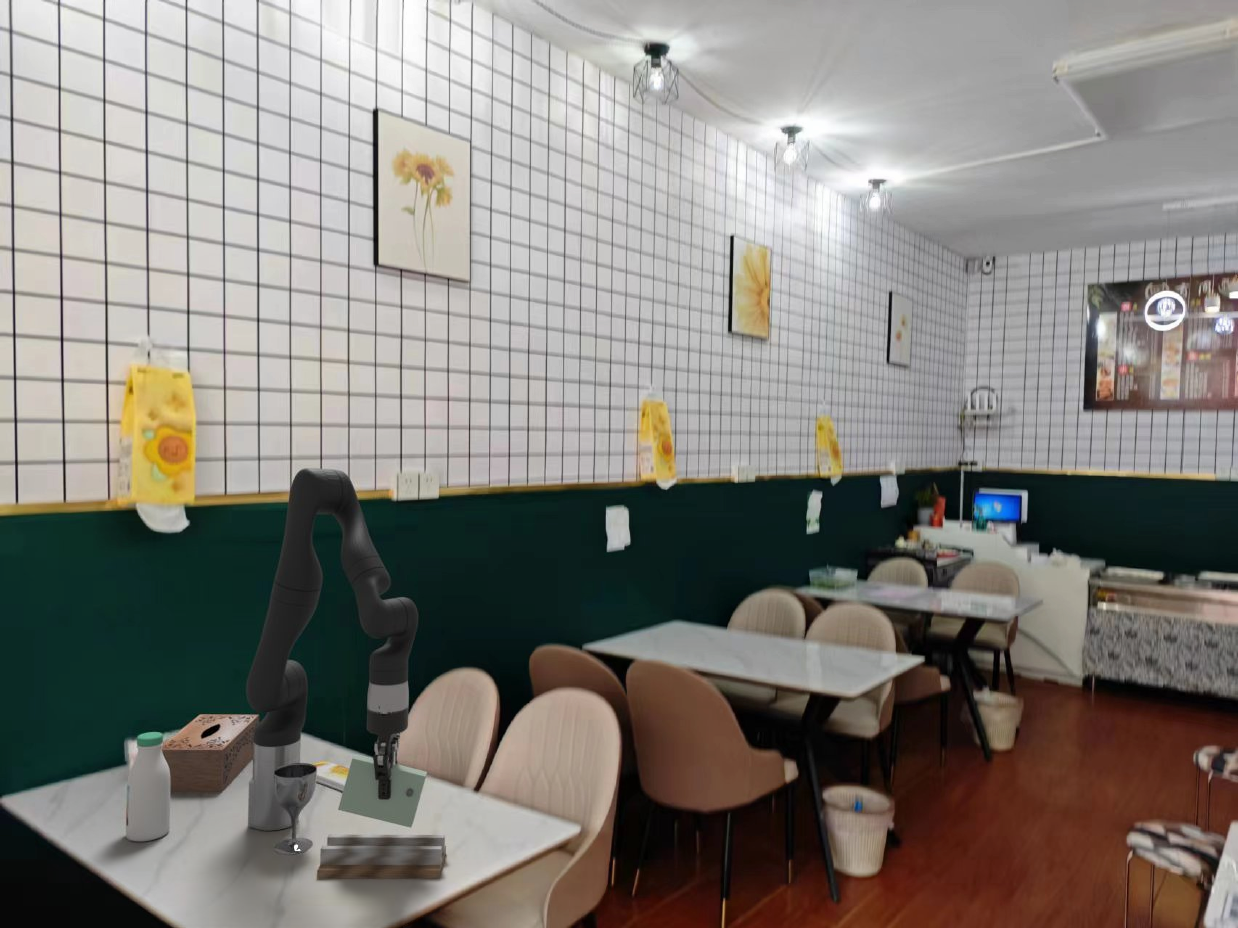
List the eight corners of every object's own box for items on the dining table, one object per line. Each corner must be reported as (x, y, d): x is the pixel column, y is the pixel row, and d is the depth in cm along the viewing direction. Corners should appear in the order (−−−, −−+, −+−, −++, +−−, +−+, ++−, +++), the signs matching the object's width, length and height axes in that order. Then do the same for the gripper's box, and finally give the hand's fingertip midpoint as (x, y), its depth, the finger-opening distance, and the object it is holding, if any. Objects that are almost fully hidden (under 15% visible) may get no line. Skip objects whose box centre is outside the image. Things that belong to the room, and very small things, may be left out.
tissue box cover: (221, 793, 199) (222, 749, 198) (154, 794, 197) (155, 749, 197) (258, 753, 224) (259, 714, 224) (199, 753, 223) (200, 714, 223)
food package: (399, 782, 204) (365, 796, 195) (399, 792, 204) (365, 806, 195) (323, 756, 219) (288, 767, 211) (323, 765, 219) (288, 777, 211)
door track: (316, 878, 162) (317, 853, 161) (331, 852, 172) (331, 829, 171) (438, 878, 163) (439, 854, 163) (445, 853, 173) (446, 830, 173)
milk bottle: (178, 829, 179) (180, 731, 179) (146, 845, 172) (148, 743, 172) (148, 823, 182) (151, 726, 182) (116, 838, 175) (118, 738, 174)
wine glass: (289, 859, 169) (291, 780, 168) (263, 847, 173) (265, 771, 172) (323, 843, 175) (325, 768, 175) (297, 833, 180) (299, 760, 179)
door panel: (336, 811, 165) (351, 759, 165) (341, 804, 168) (355, 753, 168) (410, 829, 166) (424, 778, 166) (413, 822, 169) (427, 771, 169)
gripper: (375, 694, 173) (373, 781, 174) (359, 715, 160) (357, 811, 160) (414, 694, 174) (412, 782, 174) (401, 716, 160) (399, 811, 160)
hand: (385, 795), depth 167 cm, fingers closed on door panel, 2 cm apart
